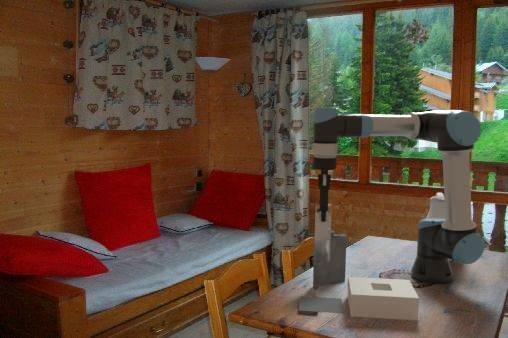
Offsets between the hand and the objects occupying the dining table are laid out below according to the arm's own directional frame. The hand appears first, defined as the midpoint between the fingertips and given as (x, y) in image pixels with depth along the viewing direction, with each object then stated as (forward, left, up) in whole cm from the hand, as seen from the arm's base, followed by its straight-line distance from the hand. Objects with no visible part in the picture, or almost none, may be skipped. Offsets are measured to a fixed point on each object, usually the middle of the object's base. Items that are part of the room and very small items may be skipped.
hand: (322, 228), depth 154 cm
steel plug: (0, 0, -10) cm, 10 cm away
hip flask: (-3, -23, -26) cm, 35 cm away
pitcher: (-53, -66, -26) cm, 89 cm away
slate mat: (0, 0, -26) cm, 26 cm away
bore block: (-19, 0, -26) cm, 32 cm away
